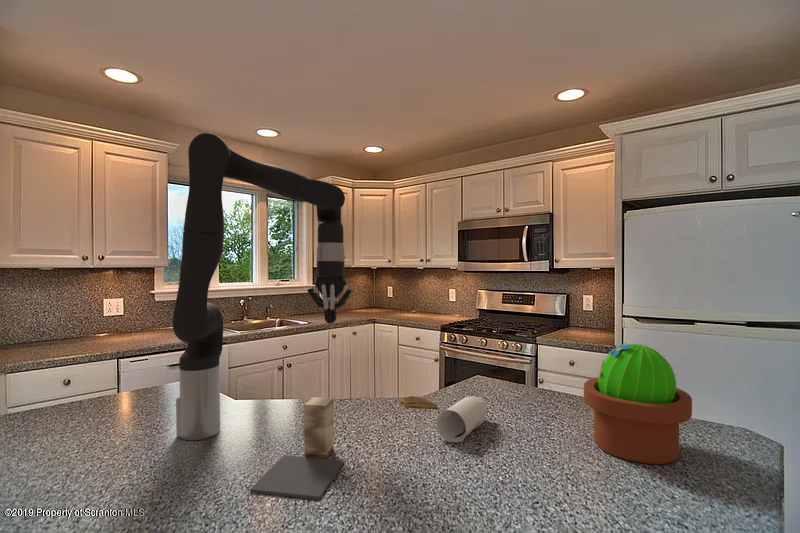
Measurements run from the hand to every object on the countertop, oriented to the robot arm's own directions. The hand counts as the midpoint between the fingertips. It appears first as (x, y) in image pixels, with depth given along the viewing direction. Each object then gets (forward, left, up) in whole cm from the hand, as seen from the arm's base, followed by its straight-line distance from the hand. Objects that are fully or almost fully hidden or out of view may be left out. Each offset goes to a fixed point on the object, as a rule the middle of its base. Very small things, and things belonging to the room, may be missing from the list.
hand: (330, 322), depth 114 cm
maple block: (+4, -19, -27) cm, 33 cm away
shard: (+22, +18, -28) cm, 40 cm away
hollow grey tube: (+36, 0, -27) cm, 45 cm away
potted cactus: (+76, -3, -27) cm, 81 cm away
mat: (+4, -29, -27) cm, 40 cm away
